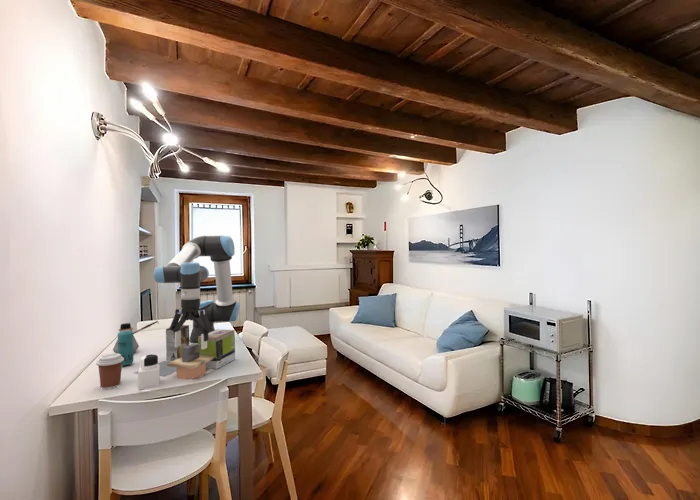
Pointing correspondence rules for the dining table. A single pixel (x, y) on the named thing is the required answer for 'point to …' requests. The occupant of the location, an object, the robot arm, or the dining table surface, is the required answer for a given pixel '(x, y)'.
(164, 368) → the mat
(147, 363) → the medicine bottle
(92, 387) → the dining table surface
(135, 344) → the coffee pot
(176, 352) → the coffee box
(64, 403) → the dining table surface
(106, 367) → the coffee cup
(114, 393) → the dining table surface
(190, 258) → the robot arm
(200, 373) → the bowl
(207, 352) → the tea box
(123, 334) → the beverage bottle
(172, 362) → the lid
